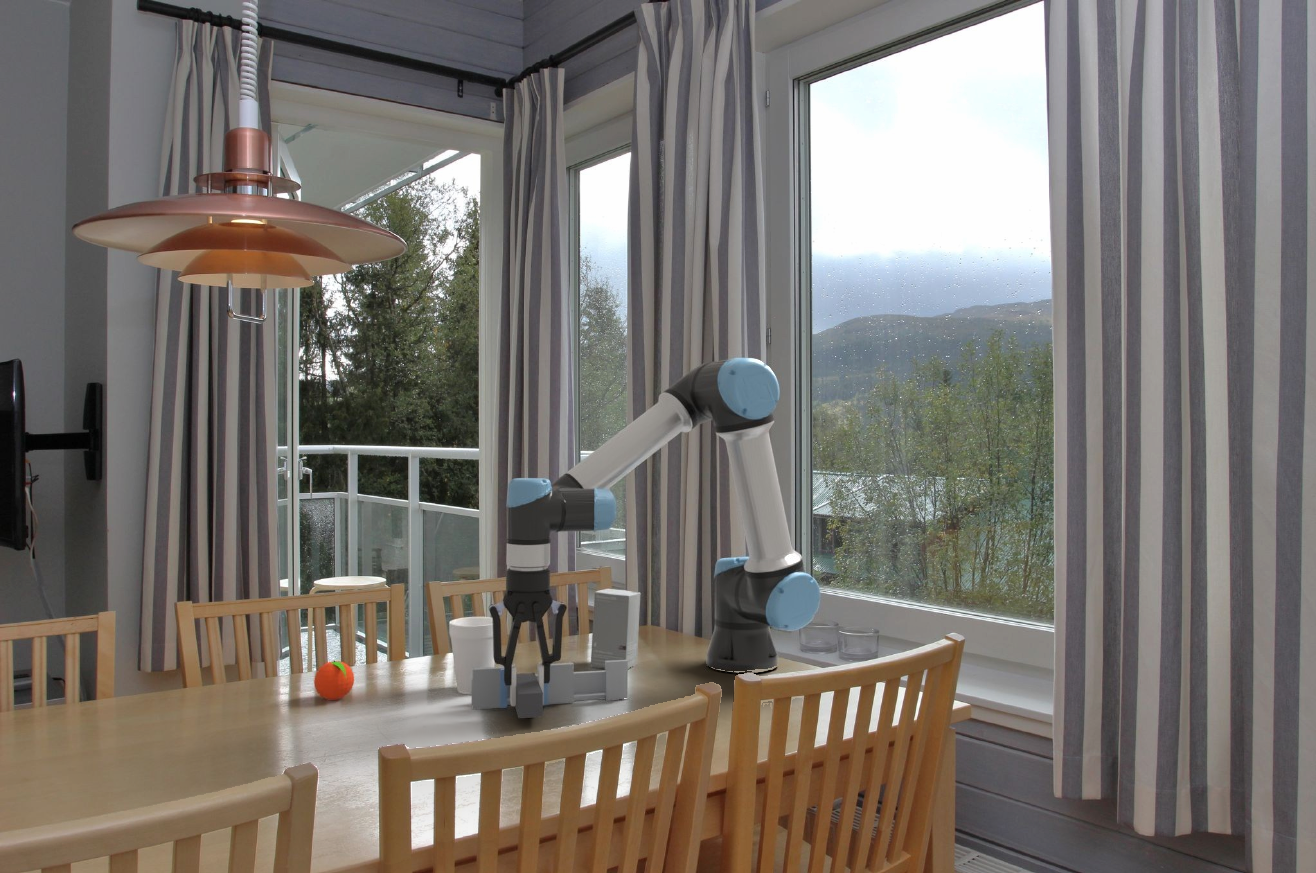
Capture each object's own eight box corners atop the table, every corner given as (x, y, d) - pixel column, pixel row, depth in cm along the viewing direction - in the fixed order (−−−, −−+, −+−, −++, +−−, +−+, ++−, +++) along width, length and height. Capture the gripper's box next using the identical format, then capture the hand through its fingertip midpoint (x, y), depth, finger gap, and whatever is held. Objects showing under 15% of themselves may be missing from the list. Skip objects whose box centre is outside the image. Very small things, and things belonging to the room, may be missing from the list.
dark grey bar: (534, 694, 169) (534, 672, 169) (542, 716, 156) (542, 692, 156) (511, 696, 168) (512, 673, 168) (518, 718, 155) (518, 693, 155)
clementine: (364, 700, 171) (364, 661, 171) (328, 707, 166) (328, 667, 166) (342, 692, 177) (342, 654, 177) (307, 699, 172) (307, 660, 172)
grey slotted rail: (622, 693, 177) (622, 655, 177) (628, 700, 172) (629, 662, 172) (471, 702, 170) (471, 664, 170) (473, 711, 165) (473, 671, 165)
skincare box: (590, 667, 196) (590, 592, 196) (604, 660, 203) (605, 587, 203) (627, 671, 193) (627, 594, 193) (640, 664, 200) (641, 589, 200)
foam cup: (487, 697, 173) (488, 627, 173) (440, 694, 175) (441, 625, 175) (506, 684, 183) (506, 617, 183) (461, 681, 184) (461, 615, 184)
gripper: (573, 563, 168) (572, 694, 168) (476, 565, 164) (475, 699, 164) (580, 569, 161) (579, 705, 161) (479, 571, 157) (477, 712, 156)
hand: (526, 702), depth 162 cm, fingers closed on dark grey bar, 4 cm apart
